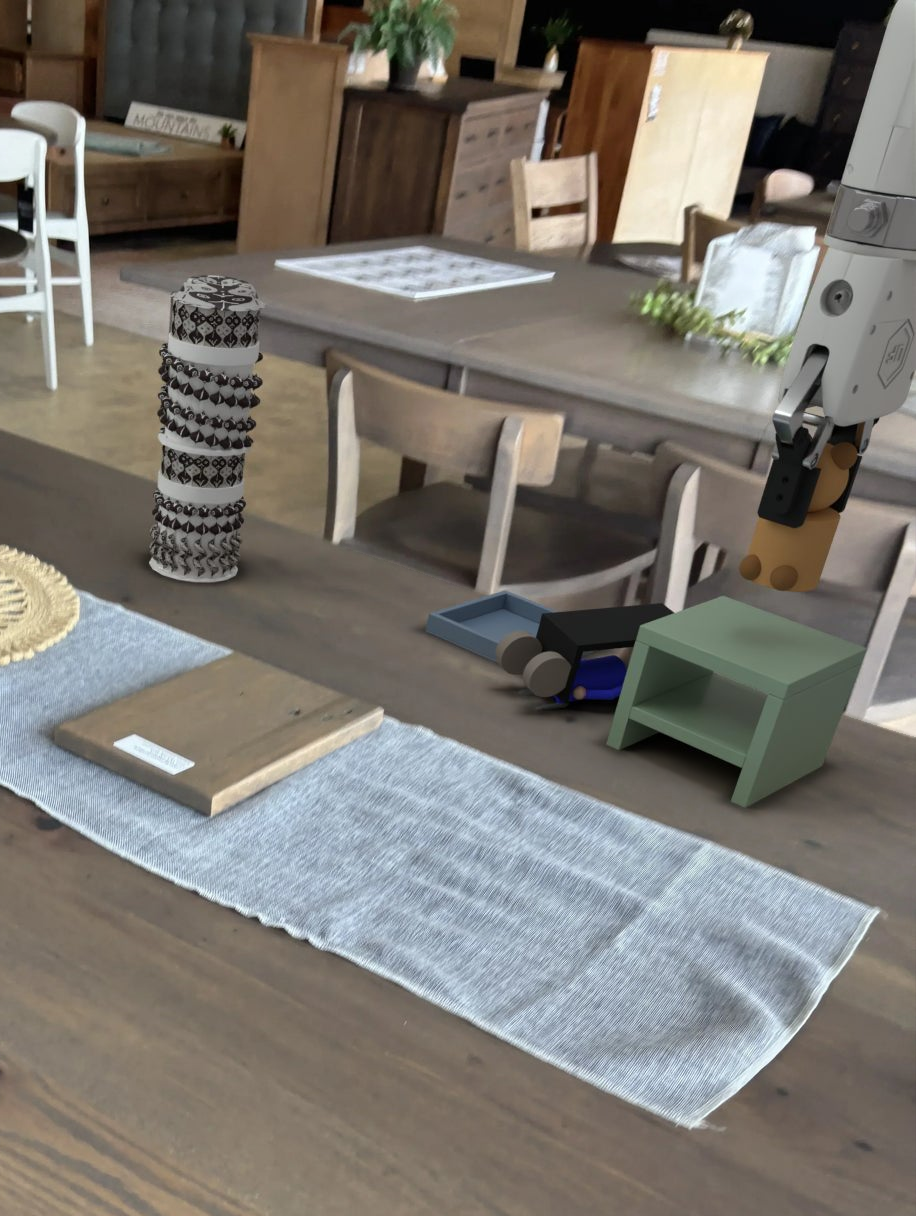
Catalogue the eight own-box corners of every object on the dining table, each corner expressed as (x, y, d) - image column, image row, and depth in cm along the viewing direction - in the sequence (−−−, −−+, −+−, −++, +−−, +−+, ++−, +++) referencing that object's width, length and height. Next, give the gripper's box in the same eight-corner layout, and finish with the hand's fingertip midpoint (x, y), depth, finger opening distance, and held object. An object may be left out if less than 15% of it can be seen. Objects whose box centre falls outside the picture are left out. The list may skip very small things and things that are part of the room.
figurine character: (525, 741, 112) (689, 710, 116) (537, 652, 108) (707, 623, 111) (486, 704, 117) (643, 676, 121) (496, 618, 113) (659, 592, 116)
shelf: (686, 712, 116) (723, 595, 111) (821, 769, 110) (868, 648, 104) (604, 747, 109) (639, 625, 103) (743, 811, 102) (789, 684, 97)
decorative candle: (143, 549, 137) (163, 266, 123) (238, 556, 138) (269, 275, 123) (144, 582, 129) (165, 285, 115) (244, 590, 130) (277, 295, 116)
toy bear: (764, 561, 104) (807, 422, 98) (830, 583, 101) (878, 441, 96) (725, 576, 101) (767, 433, 95) (791, 598, 98) (839, 452, 92)
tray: (500, 610, 132) (505, 589, 131) (601, 652, 126) (607, 631, 124) (424, 634, 125) (428, 612, 124) (526, 679, 119) (532, 657, 118)
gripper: (890, 242, 81) (789, 553, 91) (1007, 229, 91) (905, 510, 101) (770, 220, 85) (688, 520, 96) (895, 210, 95) (808, 482, 106)
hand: (800, 512), depth 98 cm, fingers closed on toy bear, 5 cm apart
